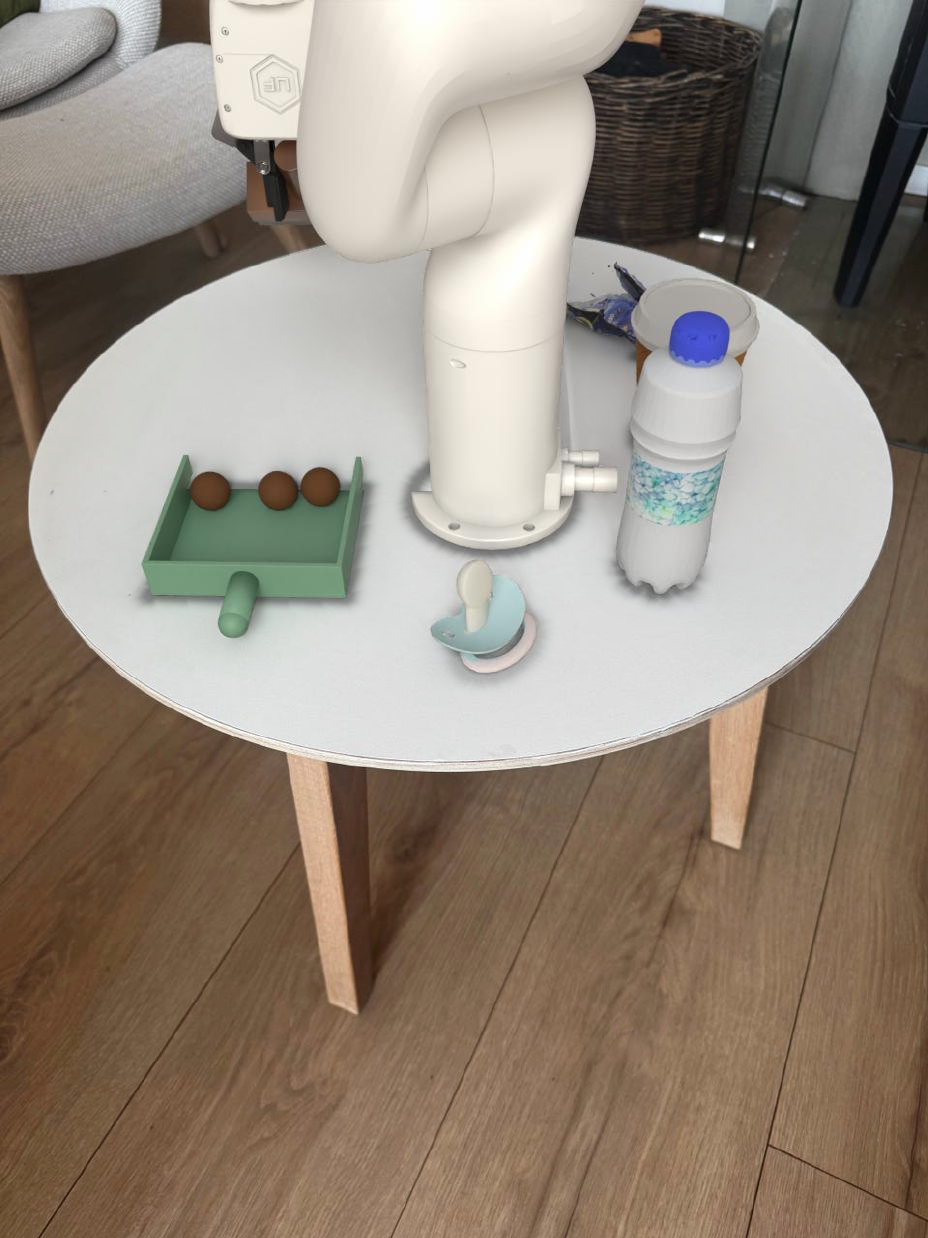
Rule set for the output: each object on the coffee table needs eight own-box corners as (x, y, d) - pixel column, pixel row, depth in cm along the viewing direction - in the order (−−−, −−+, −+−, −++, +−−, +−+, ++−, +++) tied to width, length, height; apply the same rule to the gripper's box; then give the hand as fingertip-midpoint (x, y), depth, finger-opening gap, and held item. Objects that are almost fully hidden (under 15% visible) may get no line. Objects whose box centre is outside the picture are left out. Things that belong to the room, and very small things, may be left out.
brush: (369, 177, 91) (352, 126, 81) (369, 226, 91) (353, 181, 81) (257, 178, 91) (226, 127, 81) (257, 227, 92) (226, 182, 81)
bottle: (701, 542, 73) (755, 290, 59) (708, 607, 69) (768, 350, 54) (610, 537, 74) (641, 286, 59) (610, 601, 69) (644, 345, 55)
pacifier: (555, 628, 68) (484, 589, 70) (563, 561, 63) (486, 523, 65) (492, 695, 64) (419, 652, 66) (496, 629, 59) (417, 586, 61)
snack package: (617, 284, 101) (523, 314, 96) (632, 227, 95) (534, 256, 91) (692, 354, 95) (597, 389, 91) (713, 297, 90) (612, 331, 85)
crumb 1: (237, 470, 76) (206, 463, 74) (240, 508, 76) (210, 502, 73) (210, 479, 78) (180, 473, 75) (214, 517, 78) (183, 512, 75)
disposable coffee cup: (596, 448, 81) (609, 314, 73) (650, 393, 87) (668, 263, 78) (702, 489, 78) (730, 353, 69) (752, 429, 83) (783, 296, 74)
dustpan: (191, 486, 79) (183, 454, 76) (364, 488, 78) (361, 456, 76) (133, 649, 67) (120, 616, 64) (337, 652, 66) (331, 620, 64)
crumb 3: (343, 507, 75) (311, 519, 76) (350, 482, 77) (319, 495, 78) (321, 477, 73) (289, 490, 74) (329, 454, 75) (297, 467, 77)
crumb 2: (288, 485, 78) (312, 485, 76) (271, 517, 77) (294, 518, 75) (261, 463, 76) (284, 462, 74) (243, 496, 75) (266, 495, 73)
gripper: (146, -18, 70) (199, 233, 84) (373, -18, 70) (390, 235, 83) (171, -46, 76) (217, 195, 89) (383, -46, 75) (397, 196, 88)
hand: (301, 212), depth 86 cm, fingers closed on brush, 2 cm apart
